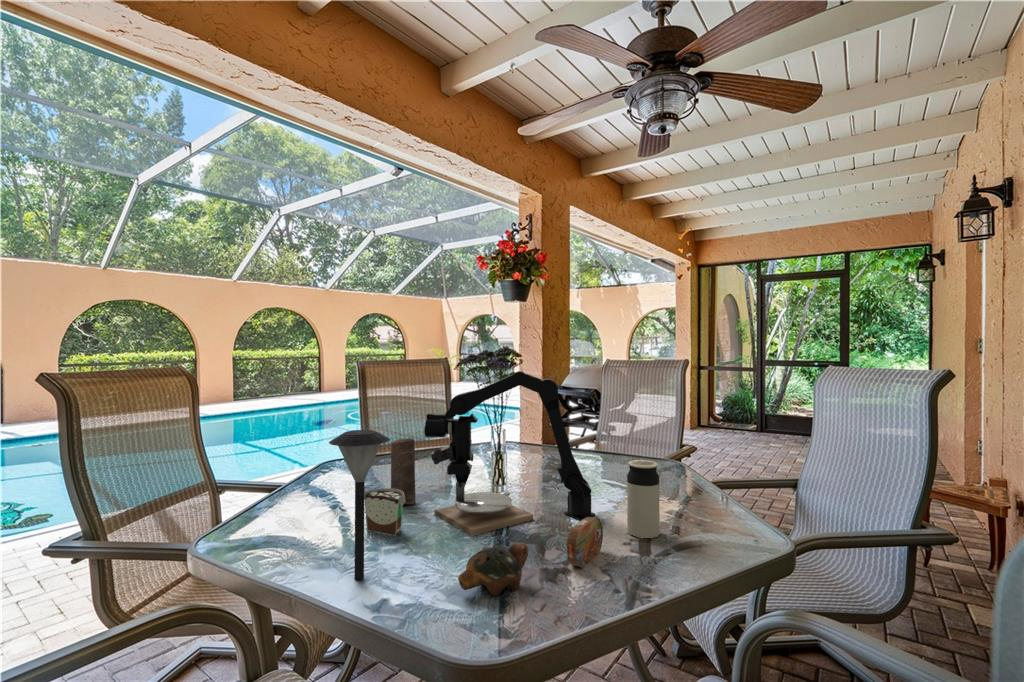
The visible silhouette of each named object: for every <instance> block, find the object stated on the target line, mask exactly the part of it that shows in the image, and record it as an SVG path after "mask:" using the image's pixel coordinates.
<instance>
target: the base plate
mask: <svg viewBox="0 0 1024 682" xmlns="http://www.w3.org/2000/svg"><path fill="white" fill-rule="evenodd" d="M434 516H436V517H437V516H438V517H437V518H439V519H441V520H443V521H444V520H445V521H444V522H446V521H447V522H446V523H448V524H450V525H451V526H453V527H455V528H457V529H459V530H460V529H461V530H460V531H462V530H463V531H462V532H464V533H466V534H468V535H469V534H470V535H469V536H471V537H474V536H477V534H478V535H482V534H485V533H488V531H489V532H493V531H496V529H497V530H499V528H500V529H503V527H504V528H507V527H506V526H508V527H511V526H510V525H512V526H514V525H513V524H515V525H518V524H517V523H519V524H521V523H520V522H523V523H525V522H524V521H527V522H529V521H528V520H531V521H533V520H534V514H533V513H531V512H529V511H528V510H527V511H526V510H524V509H521V508H519V507H516V506H514V505H511V507H510V508H509V509H507V510H504V511H501V512H497V513H489V514H474V513H467V512H463V511H460V510H458V509H456V508H455V504H454V505H451V506H447V507H442V508H437V509H434ZM492 530H493V531H492ZM484 532H485V533H484ZM481 533H482V534H481Z"/></svg>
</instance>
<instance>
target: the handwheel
mask: <svg viewBox="0 0 1024 682" xmlns="http://www.w3.org/2000/svg"><path fill="white" fill-rule="evenodd" d="M464 486H465V487H466V485H465V482H463V481H459V482H457V481H456V482H455V500H454V505H455V508H456V509H458V510H460V511H463V512H467V513H474V514H489V513H497V512H501V511H504V510H507V509H509V508H510V507H511V505H512V504H513V503H512V501H513V500H512V498H511V497H510V496H509V495H508V494H505V493H504V494H503V493H501V492H500V493H498V492H492V491H491V492H490V491H486V492H485V491H478V492H477V491H476V492H470V493H466V494H465V488H464ZM512 506H513V505H512Z"/></svg>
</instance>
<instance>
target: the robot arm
mask: <svg viewBox="0 0 1024 682" xmlns="http://www.w3.org/2000/svg"><path fill="white" fill-rule="evenodd" d="M519 386H521V387H523V388H525V389H528V390H530V391H532V392H535V393H538V396H539V398H540V400H541V402H542V405H543V406H544V408H545V410H546V412H547V414H548V419H549V421H550V426H551V431H552V432H553V437H554V440H555V444H556V447H557V450H558V455H559V459H560V463H556V469H557V471H558V474H559V480H560V483H561V484H563V485H564V487H565V489H567V490H569V491H567V511H564V513H563V515H566V516H568V517H570V518H573V519H576V520H580V521H582V520H583V519H584V518H586V517H596V513H594V512H592V489H591V486H590V484H589V482H588V481H587V480H586V478H584V476H583V474H582V472H581V469H580V467H579V465H578V463H577V462H576V459H575V457H574V455H573V452H572V449H571V445H570V441H569V438H568V434H567V431H566V427H565V423H564V420H563V415H562V413H561V410H560V396H559V395H560V394H559V388H558V385H557V383H556V382H555V381H554V380H553V379H551V378H543V379H541V378H539V377H536V376H534V375H530V374H528V373H525V372H524V371H521V370H518V371H516V372H514V373H512V374H510V375H508V376H506V377H504V378H502V379H499V380H497V381H495V382H492V383H491V384H488V385H485V386H484V387H482V388H479V389H474V390H470V391H466V392H462V393H459V394H457V395H455V396H454V397H453V398H452V399H451V401H450V406H449V409H448V410H447V411H446V412H445V414H444V413H441V414H439V413H436V414H435V413H426V419H425V425H424V427H423V428H424V431H423V433H424V437H425V438H446V436H447V435H450V434H451V438H450V439H451V441H450V443H449V445H447V446H444V447H441V448H440V447H438V449H434V450H433V451H432V452H431V454H430V456H431V460H432V461H433V464H434V465H438V464H440V463H442V462H444V461H447V460H449V461H448V462H450V463H448V465H447V467H446V470H447V471H446V474H447V475H450V476H452V475H453V476H455V479H456V482H459V481H463V482H465V486H464V489H465V487H466V485H467V482H468V480H469V477H470V475H471V473H472V472H471V471H472V468H473V464H471V463H470V462H469V461H471V462H473V461H474V452H473V451H472V444H473V443H472V442H473V441H472V423H473V424H476V423H477V422H478V421H479V419H478V418H477V417H476V416H475V415H474V413H471V414H470V415H465V414H467V413H469V412H470V411H472V410H474V409H475V408H476V407H478V406H479V405H480V404H482V403H484V402H485V401H487V400H490V399H492V398H494V397H496V396H499V395H500V394H504V393H506V392H507V391H509V390H510V391H511V390H512V389H515V388H517V387H519ZM456 416H459V417H458V418H454V417H456ZM450 432H451V433H450Z"/></svg>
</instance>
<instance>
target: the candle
mask: <svg viewBox="0 0 1024 682" xmlns="http://www.w3.org/2000/svg"><path fill="white" fill-rule="evenodd" d="M415 449H416V448H415V438H411V437H409V438H406V437H403V438H402V437H401V438H398V439H396V440H393V441H391V442H390V488H391V489H398V490H401V491H403V493H404V495H405V500H406V502H405V503H404V504H403V505H415V504H416V464H415V463H416V459H415V457H416V456H415V455H416V453H415V452H416V451H415Z"/></svg>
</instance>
